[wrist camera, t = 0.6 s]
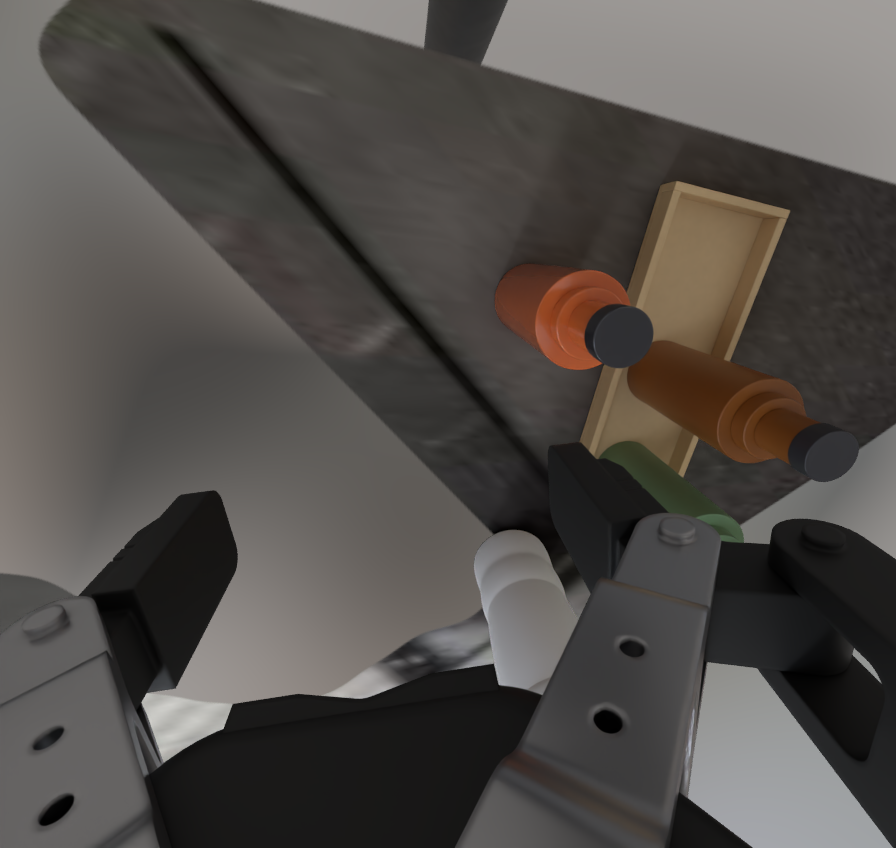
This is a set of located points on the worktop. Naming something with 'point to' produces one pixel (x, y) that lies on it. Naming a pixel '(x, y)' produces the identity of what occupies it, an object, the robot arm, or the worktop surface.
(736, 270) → the tray
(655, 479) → the sage bottle
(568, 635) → the water bottle
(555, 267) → the terracotta bottle
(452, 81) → the worktop surface
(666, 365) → the amber bottle
